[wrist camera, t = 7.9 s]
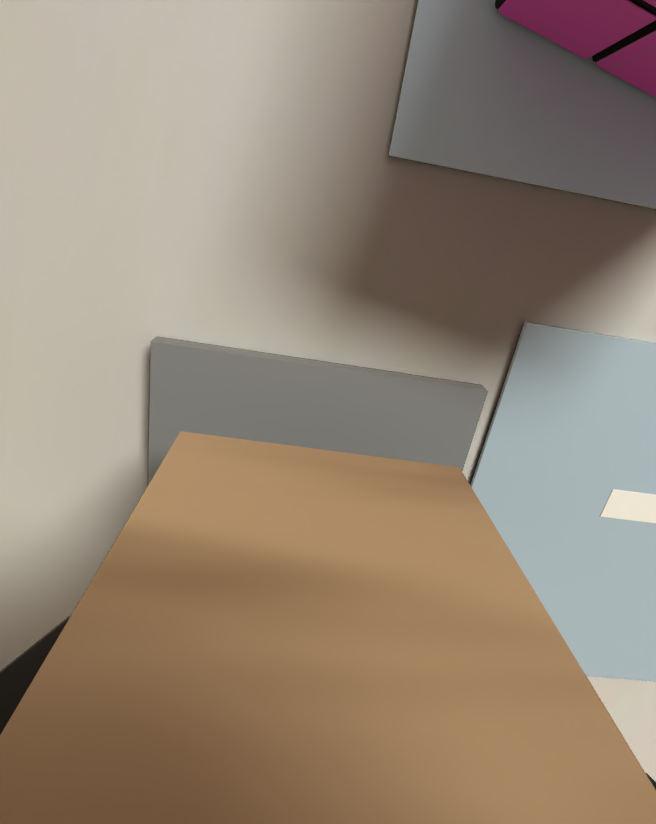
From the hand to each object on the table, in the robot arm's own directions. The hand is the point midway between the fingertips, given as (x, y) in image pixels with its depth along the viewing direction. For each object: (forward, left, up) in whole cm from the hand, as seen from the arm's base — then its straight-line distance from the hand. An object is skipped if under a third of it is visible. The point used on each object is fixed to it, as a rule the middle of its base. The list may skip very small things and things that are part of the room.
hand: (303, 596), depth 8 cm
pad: (0, 0, -3) cm, 3 cm away
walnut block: (0, 0, -1) cm, 1 cm away
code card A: (0, -9, -3) cm, 9 cm away
